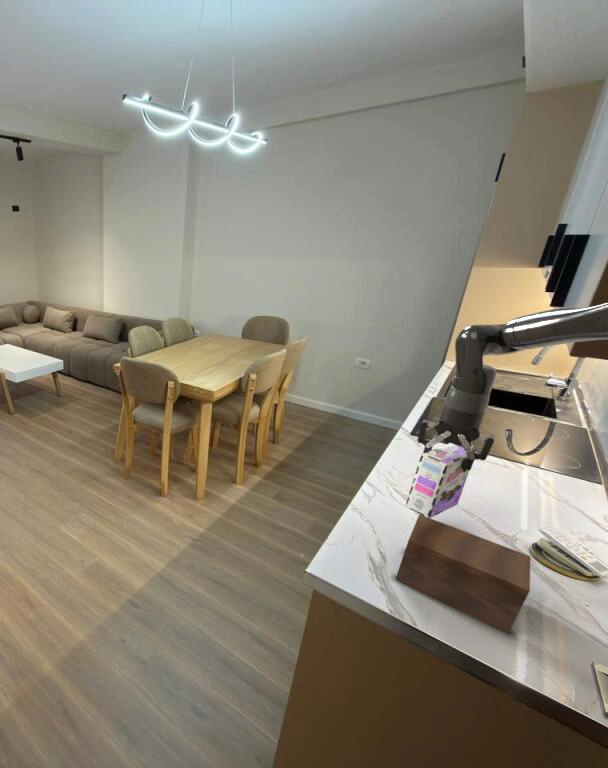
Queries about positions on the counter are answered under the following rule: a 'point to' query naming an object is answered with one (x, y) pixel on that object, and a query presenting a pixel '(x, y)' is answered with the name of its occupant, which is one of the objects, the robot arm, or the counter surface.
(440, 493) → the candy box
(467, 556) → the walnut wooden block
